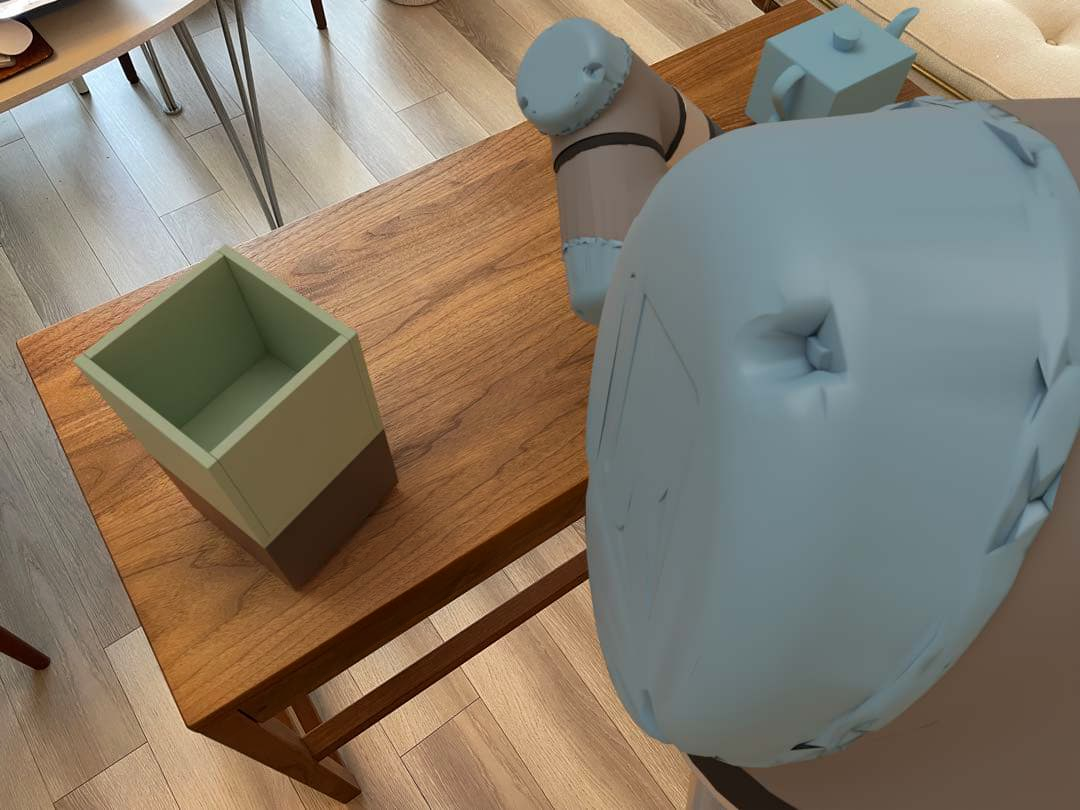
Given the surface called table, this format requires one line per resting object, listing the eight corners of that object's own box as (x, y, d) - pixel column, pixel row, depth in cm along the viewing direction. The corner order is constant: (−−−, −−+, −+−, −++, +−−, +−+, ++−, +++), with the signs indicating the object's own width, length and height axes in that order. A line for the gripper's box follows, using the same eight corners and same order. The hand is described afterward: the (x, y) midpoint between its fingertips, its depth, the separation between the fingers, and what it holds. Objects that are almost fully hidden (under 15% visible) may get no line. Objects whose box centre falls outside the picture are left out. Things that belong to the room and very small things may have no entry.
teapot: (786, 185, 95) (825, 85, 83) (724, 132, 100) (752, 30, 88) (910, 119, 102) (962, 18, 90) (847, 73, 107) (888, -29, 95)
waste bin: (296, 592, 68) (207, 469, 48) (193, 506, 71) (71, 360, 52) (399, 482, 73) (357, 332, 54) (298, 408, 77) (225, 243, 57)
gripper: (564, 94, 70) (679, 175, 87) (720, 295, 59) (817, 343, 75) (624, 24, 67) (730, 121, 84) (800, 221, 56) (883, 288, 72)
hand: (772, 226), depth 80 cm, fingers open, 13 cm apart
